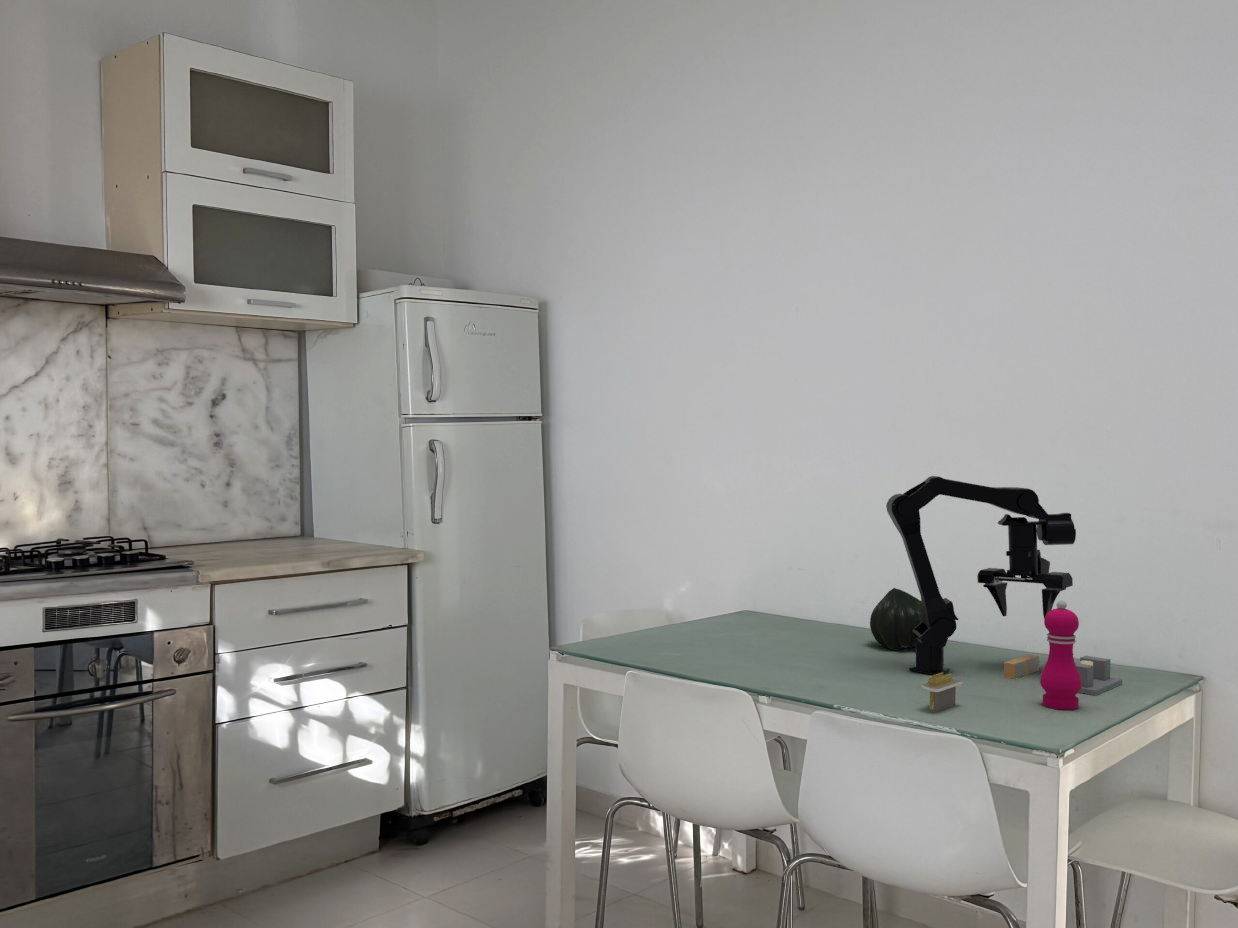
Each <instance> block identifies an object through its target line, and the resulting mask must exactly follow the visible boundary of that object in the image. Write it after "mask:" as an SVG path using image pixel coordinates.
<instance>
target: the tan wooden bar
mask: <svg viewBox="0 0 1238 928" xmlns="http://www.w3.org/2000/svg"><path fill="white" fill-rule="evenodd" d="M1039 657H1040V656H1039V655H1034V654H1025V655H1023V656H1020V657H1016V658H1014V659H1011V660H1007V661H1004V663H1003V664H1004V665H1003V678H1004V679H1007V680H1009V679H1010V680H1013V679H1014V680H1017V679H1019V678H1022V677H1025V675H1026V676H1028V675H1031V674H1033V672H1034V673H1036V671H1037V672H1039V662H1040V661H1039V660H1040V659H1039ZM1030 673H1031V674H1030ZM1016 678H1017V679H1016Z"/></svg>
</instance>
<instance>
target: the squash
mask: <svg viewBox="0 0 1238 928" xmlns="http://www.w3.org/2000/svg"><path fill="white" fill-rule="evenodd" d="M922 621H923V618H922V611H921V600H920V599H918V598H917V597H914V596H913V595H911V594H910V593H908V592H907V591H904V590H902V589H900V588H896V587H893V588H892V589H890V590H888V591H887V593H886V594H885V595H884V596H883V598H882V599H880V601H879V602H878V603H877V604H876V606H875V607H874V608H873V610H872V612H871V615H870V620H869V627H870V628H869V629H870V631H871V634H872V636H873V638H874V639H875V641H876V642H877V644H878V645H880V647H883V648H885V649H889V650H895V651H898V650H901V649H902V648H904V649H907V648H908V647H910V648H911V649H912V650H915V649H916V642H917V641H918V640H917V639H915V637H914V634H913V629H914V628H915V627H916V626H917V625H919V624H920V623H921V622H922Z"/></svg>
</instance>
